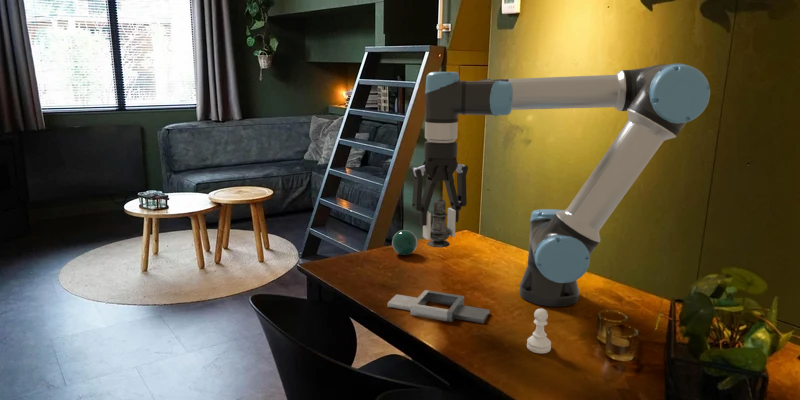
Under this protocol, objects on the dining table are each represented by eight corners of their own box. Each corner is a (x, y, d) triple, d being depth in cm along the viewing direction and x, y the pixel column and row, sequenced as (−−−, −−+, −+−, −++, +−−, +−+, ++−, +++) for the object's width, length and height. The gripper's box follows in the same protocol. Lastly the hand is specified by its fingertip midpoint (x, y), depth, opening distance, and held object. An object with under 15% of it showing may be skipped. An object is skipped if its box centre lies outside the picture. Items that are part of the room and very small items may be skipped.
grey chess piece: (449, 248, 133) (450, 198, 131) (424, 246, 135) (425, 197, 132) (452, 241, 139) (453, 193, 136) (428, 239, 140) (429, 192, 137)
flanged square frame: (491, 309, 140) (491, 300, 140) (481, 327, 131) (481, 317, 130) (399, 294, 149) (399, 285, 149) (383, 310, 140) (383, 300, 139)
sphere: (414, 259, 176) (414, 235, 174) (389, 257, 178) (389, 233, 176) (419, 251, 184) (419, 227, 182) (395, 249, 186) (395, 226, 184)
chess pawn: (522, 343, 123) (525, 305, 121) (543, 341, 125) (546, 303, 123) (533, 355, 119) (535, 315, 117) (555, 352, 120) (558, 313, 118)
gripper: (469, 136, 138) (466, 228, 143) (396, 140, 131) (396, 236, 136) (484, 140, 131) (481, 236, 136) (409, 144, 124) (408, 245, 129)
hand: (438, 236), depth 136 cm, fingers closed on grey chess piece, 6 cm apart
